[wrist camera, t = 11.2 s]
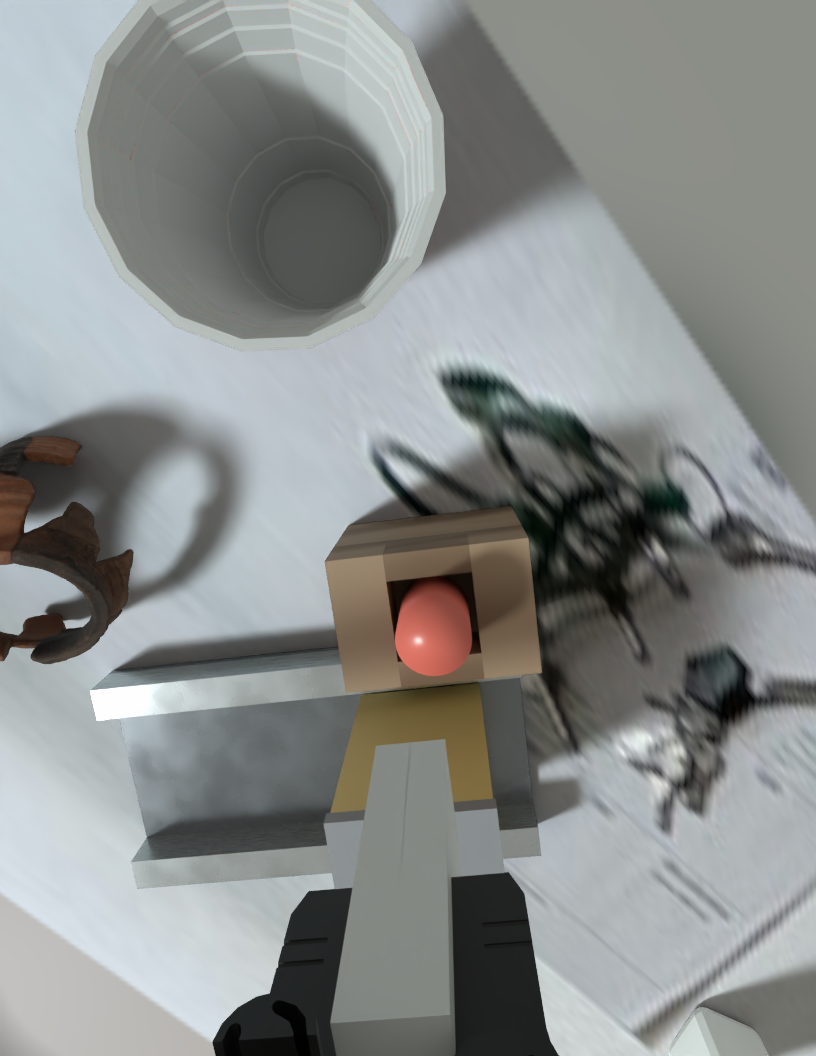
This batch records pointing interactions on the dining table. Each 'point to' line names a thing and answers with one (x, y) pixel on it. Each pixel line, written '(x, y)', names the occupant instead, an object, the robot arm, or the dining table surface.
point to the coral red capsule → (434, 626)
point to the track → (270, 762)
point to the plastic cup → (261, 164)
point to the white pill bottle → (716, 1037)
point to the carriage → (464, 732)
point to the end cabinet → (424, 551)
